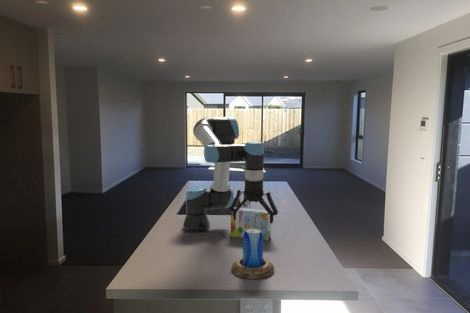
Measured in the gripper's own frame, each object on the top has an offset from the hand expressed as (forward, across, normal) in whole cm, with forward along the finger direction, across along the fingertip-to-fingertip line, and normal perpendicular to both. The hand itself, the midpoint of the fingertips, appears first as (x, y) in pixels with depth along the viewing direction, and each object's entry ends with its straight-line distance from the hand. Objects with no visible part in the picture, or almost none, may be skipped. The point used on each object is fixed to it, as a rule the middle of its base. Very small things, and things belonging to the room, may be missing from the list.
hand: (253, 228), depth 148 cm
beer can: (+17, 0, 0) cm, 17 cm away
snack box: (+19, -9, +36) cm, 42 cm away
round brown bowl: (+18, 0, 0) cm, 18 cm away
